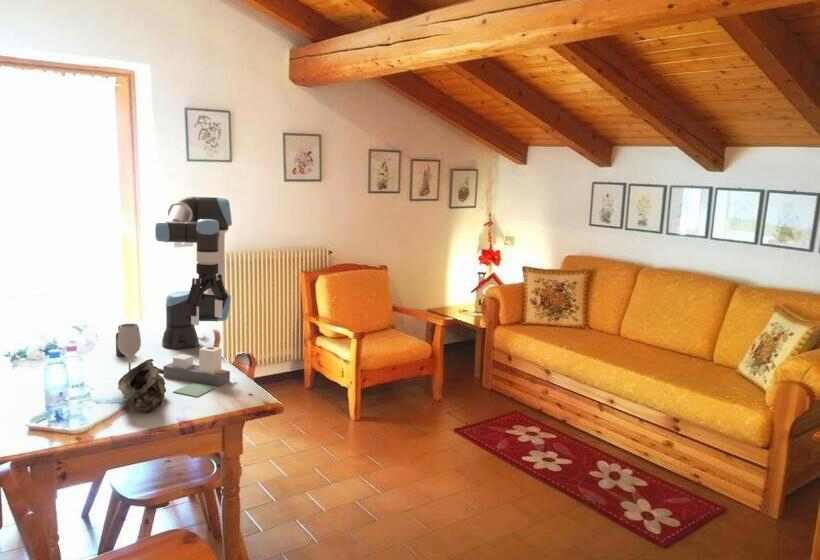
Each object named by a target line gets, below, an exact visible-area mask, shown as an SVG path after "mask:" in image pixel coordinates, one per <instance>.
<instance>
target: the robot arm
mask: <svg viewBox="0 0 820 560" xmlns="http://www.w3.org/2000/svg"><path fill="white" fill-rule="evenodd" d="M231 226H233V221H232V211H231V206H230V201H229V199H227V198H224V197H223V198H222V197H210V196H207V197H206V196H204V197H203V196H187V197H183V198H180V199H178V200H176V201H174V202H173V203H172V204H170V206H169V208H168V209H167V217H166V219H165V220H159V221H156V223H155V229H154V230H155V232H154V233H155V239H156V241H157V242H160V243H161V242H162V243H195V244H196V262H197V263H196V269H195V270H196V271H195V272H196V274H197V275H198V278H197V277H193V278H192V280H191V287H190V290H179V291H175V292H172V293H169V294H168V295H167V296H166V299H165V300H166V302H165V303H166V304H165V307H166V309H165V310H166V313H165V314H166V318H165V319H166V321H165V322H166V323H165V324H166V326H165V331H164V334H163V337H162V339H161V346H162V347H164V348H166V349H174V350H179V349H180V350H182V349H191V348H195V347H196V346H197V347H198V345H199V344H200V343H199V342H200V341H199V337H198V334H197V333H198V332H197V329H196V327H195V326H199V325H200V322H216V323H217V322H224V321H227V320H228V317H229V312H230V308H231V307H230V306H231V299H232V295H231V294H228V290H227V288H226V287H225V247H226V246H225V244H226V243H225V240H226V239H225V238H226V232H228V231H229V227H231Z"/></svg>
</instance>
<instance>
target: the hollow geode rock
mask: <svg viewBox="0 0 820 560" xmlns="http://www.w3.org/2000/svg"><path fill="white" fill-rule="evenodd" d="M153 362H154V359H153V358H149V359H147V360H145V361H143V362H141V363H139V364H138V365H137V366H135V367H133V368H131V370H130V371H129V370H128V372H126V374H124V375H123V376H122V377H121V378H120V379H119V381H118V382H117V385H118V388H117V389H118V390H119V391H120V392H121V394H122V395H123V400H129V401H132V400H133V404H134V408H135V409H136V411H138V412H142V413H145V414H150V413H153V412H154V411H155V410H156V409H158V408H160V407H161V406H162V404H163V400H164V399H165V395H166V394H165V393H166V392H167V389H166V382H165V379H164V376H161V375H160V373H161V372H159V369H160V368H159V367H158V366H155V365H154V363H153ZM158 368H159V369H158Z"/></svg>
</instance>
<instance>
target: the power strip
mask: <svg viewBox="0 0 820 560" xmlns="http://www.w3.org/2000/svg"><path fill="white" fill-rule="evenodd" d="M157 368H158V369H159V372H160V373H163V376H162V377H163V378H164V377H165V378H169V379H175V380H180V381H184V382H190V383H193V382H194V383H200V384H205V385H210V386H215V387H217V388H219V387H221V386H224V385H225V384H228V383H229V382H230V379H231V378H230V377H231V376H230V375H231V371H230V370H225V369H221V371H219V372H217V373H216V374H214V375H211V374H206V373H200V372H199V364H198V365H197V364H194V363H193V366H192V367H190V368H187V369H185V370H184V369H179V368H173V362H170V363H168V364H165V365H164V366H163V367H162V368H159V367H157Z"/></svg>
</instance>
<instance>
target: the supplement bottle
mask: <svg viewBox="0 0 820 560" xmlns="http://www.w3.org/2000/svg"><path fill="white" fill-rule="evenodd" d="M117 327H118V328H117V331H118V332H116V334H115V355H116V356H117V357H121V358H125V357H126V356H125V355H124V354H122V353H121V352H120V351H119V348H118V333H119V328H120V325H118V326H117ZM126 358H127V357H126Z"/></svg>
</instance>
